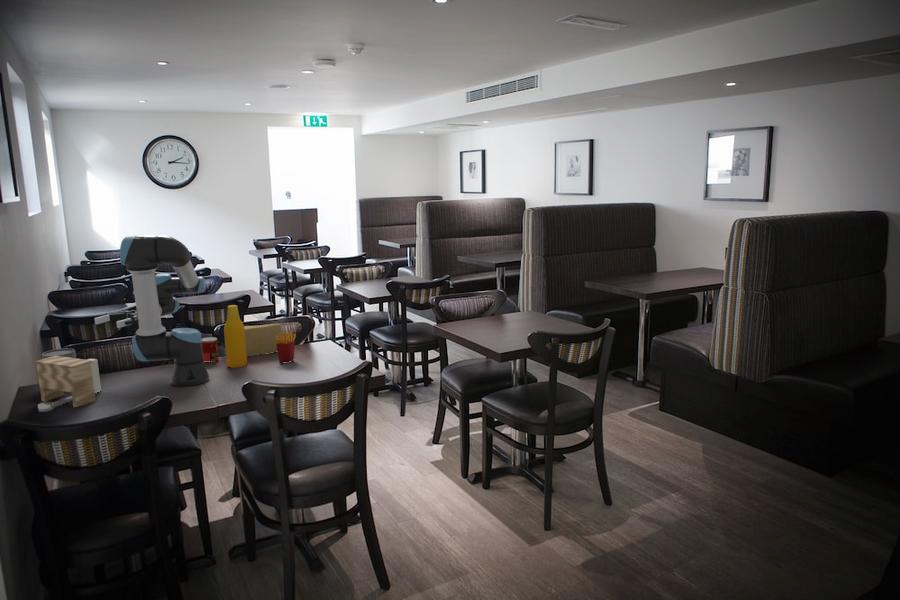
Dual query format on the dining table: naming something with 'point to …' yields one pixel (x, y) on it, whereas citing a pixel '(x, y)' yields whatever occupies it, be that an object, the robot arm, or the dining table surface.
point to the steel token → (45, 406)
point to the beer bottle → (234, 339)
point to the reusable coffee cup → (60, 353)
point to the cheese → (261, 338)
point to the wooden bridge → (66, 379)
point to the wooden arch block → (95, 381)
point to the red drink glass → (210, 349)
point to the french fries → (285, 347)
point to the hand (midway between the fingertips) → (106, 323)
